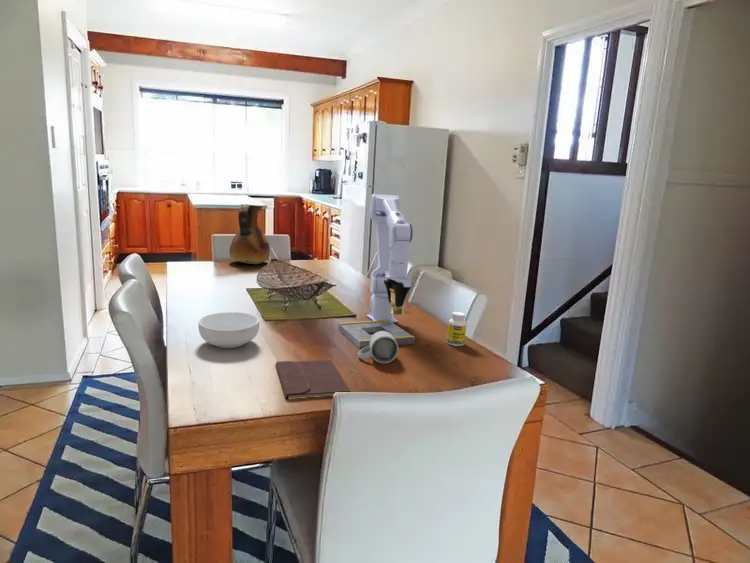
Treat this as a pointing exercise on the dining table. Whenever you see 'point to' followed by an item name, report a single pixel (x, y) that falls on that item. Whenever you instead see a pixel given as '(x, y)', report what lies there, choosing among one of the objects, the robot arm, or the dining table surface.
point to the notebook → (310, 378)
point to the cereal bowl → (228, 329)
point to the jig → (360, 330)
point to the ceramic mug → (380, 348)
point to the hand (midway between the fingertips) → (395, 304)
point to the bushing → (393, 307)
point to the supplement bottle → (456, 329)
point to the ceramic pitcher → (249, 238)
